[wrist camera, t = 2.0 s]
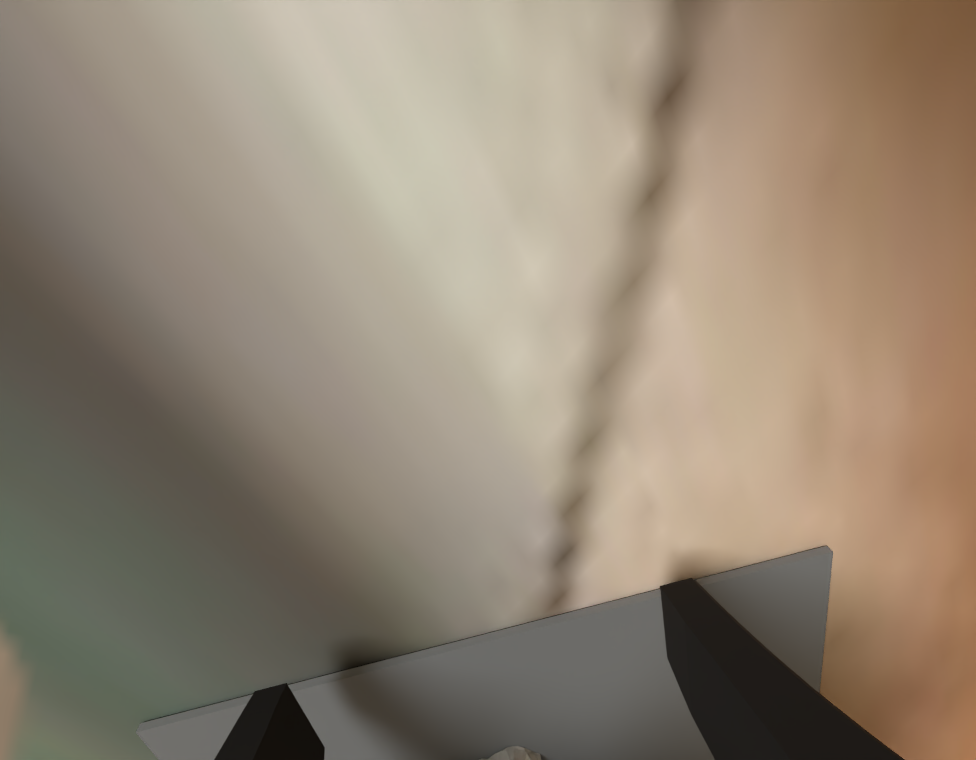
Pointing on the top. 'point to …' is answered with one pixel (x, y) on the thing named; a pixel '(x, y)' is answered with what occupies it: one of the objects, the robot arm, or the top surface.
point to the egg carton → (515, 754)
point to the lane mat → (538, 682)
